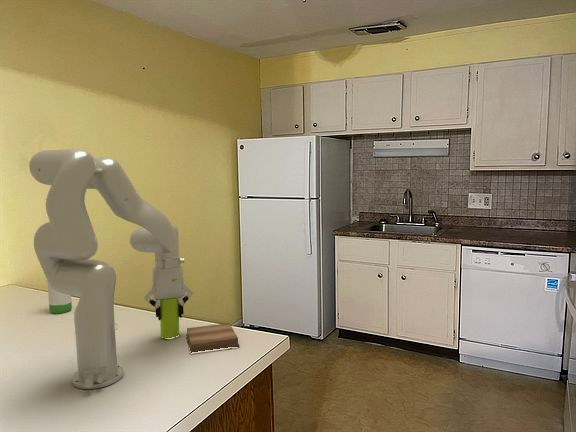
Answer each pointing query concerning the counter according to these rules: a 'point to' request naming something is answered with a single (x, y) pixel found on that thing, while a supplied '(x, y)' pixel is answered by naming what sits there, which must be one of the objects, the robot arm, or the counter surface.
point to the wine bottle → (58, 301)
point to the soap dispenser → (169, 317)
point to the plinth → (211, 337)
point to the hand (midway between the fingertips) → (169, 317)
